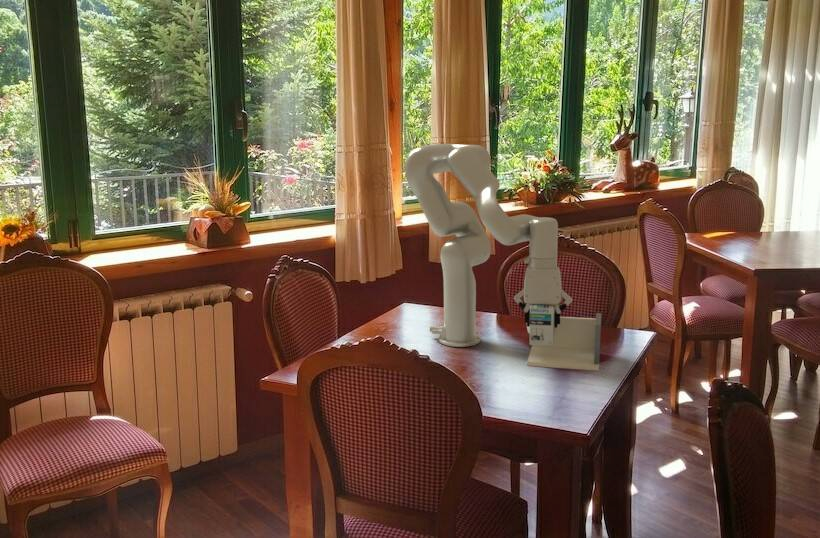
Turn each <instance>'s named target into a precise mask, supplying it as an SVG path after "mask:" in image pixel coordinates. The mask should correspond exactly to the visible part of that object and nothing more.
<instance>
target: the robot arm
mask: <svg viewBox="0 0 820 538" xmlns="http://www.w3.org/2000/svg"><path fill="white" fill-rule="evenodd" d="M491 160H492V159H491V155H490V153H489V151H488V150H487V149H486V148H485V147H483V146H482V145H479V144H461V143H458V144H457V143H439V144H436V143H435V144H427V145H421V146H418V147H416V148H414V149H413V150H411V151H410V153H409V154H408V156H407V157H406V160H405V165H404V174H405V179H406V181H407V184H408V185H409V188H411V191H412V193H413V194H414V195H415V197H416V199H417V201H418V203H419V206H420V208H421V210H422V212H423V214H424V216H425V219H426V220H427V222H428V225H429V226H430V228H431V230H432V232H433V233H434V234H435V235H436V236H438V237H449V236H453V235H455V237H454V238H451V239H449V240H447V241H446V242H445V243H444V244H443V246H442V247H441V250H440V263H441V268H442V277H443V278H442V279H443V325H440V326H438V325H430V326H429V332H430V333H431V334H433V335H438V341H439V343H440V344H442V345H444V346H447V347H455V348H464V347H465V348H466V347H471V346H472V347H473V346H476V345H478V344H480V343H481V339H482V338H481V336H480V335H479V334H477V333H476V324H477V323H476V316H477V314H476V313H477V312H476V311H477V310H476V309H477V305H476V304H477V303H476V302H477V299H476V298H477V290H476V288H477V283H476V278H475V277H476V276H475V274H474V271H473V268H474V267H475V266H478V265H480V264H483V263H485V262H487V260H488V259H489V258H490V255H491V253H492V245H491V242H490V240H489V238H488V235H487V233H486V231H485V229H486V230H487V231H488V232H489V233H490V235H491V236H492V237H493V239H495V240H496V241H497V242H499V244H502V245H504V246H513V245H517V244H520V243H524V242H528V241H529V250H528V251H529V256H528V257H526V258H524V259H523V262H524V264H526V265H527V264H528V266H527V267H526V269H525V274H524V281H523V282H524V283H523V288H522V290H520V291H519V292H518V293H516V294H515V295H514V296H513V301H515V302H516V304H517V305H518V306H519V307H520V309H522V310H523V312H524V323H525V324H526V328H527V327H529V326H530V304H531V305H554V308H555V328H557V326H558V324H560V317H561V313H562V312H563V311H565V309H566V308H567V307H568V306H570V304H571V303H572V302H573V298H572V297H571V296H570V295H569V294H568V293H566V291H564V290H563V289H562V288H563V287H562V276H561V270H560V267H558V240H559V239H558V238H559V236H558V235H559V234H558V233H559V229H558V228H559V223H558V220H557V219H556V218H553V217H546V216H542V217H541V216H534V215H531V214H527V213H526V214H525V213H523V214H522V213H521V214H518V215H517V214H516V215H514V216H509V215H508V214H507V213H506V212H505V211H504V209H503V208H502V206H501V205H500V204H499V202H498V201H499V200H498V199H497V192H498V191H499V189H500V187H501V186H500V185H501V183H500V181H499V179H498V178H497V177H496V176H495V175H494V174H493V172H492V171H491V170H490V169H489V168H490V166H491V164H492V163H491V162H492V161H491ZM441 173H452V174H453V175H454V176H455V178H456V179H457V180H458V181H459V182H460V183H461V185H462V186H463V187H464V188H465V189H466V191H467V192H468V193H469V195H470V196H471V197H472V198H473V200H474V201H475V203H476V209H477V212H478V215H479V217H478V215H477V213H476V211H475V210H474V208H473V207H471V206H470V205H469V204H468V203H466V202H463V201H453V202H452V201H451V200H450V198H449V196H448V194H447V192H446V190H445V188H444V187H443V185H442V184H441V183H440V181H438V180H437V178H435V177H434V174H441ZM482 224H483V225H482ZM483 226H484V227H485V229H484V227H483ZM522 297H523V300H522V299H521V298H522ZM562 298H563V299H564V300H565V301H563V303H562ZM561 303H562V304H561Z"/></svg>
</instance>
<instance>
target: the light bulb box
mask: <svg viewBox="0 0 820 538" xmlns="http://www.w3.org/2000/svg"><path fill="white" fill-rule="evenodd" d="M529 309H530V334H529V342H528V343H529V345H530V346H532V345H545V346H553V345H554V337H555V312H556V310H555V308H554V305H531V304H530V308H529Z"/></svg>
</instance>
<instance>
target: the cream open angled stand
mask: <svg viewBox="0 0 820 538" xmlns="http://www.w3.org/2000/svg"><path fill="white" fill-rule="evenodd" d="M595 325H596V317H595V318H593V317H577V316H576V317H575V316H560V324H558V326H557V328H555V337H554V345H553V346H545V345H531V349H530V353H529V355H528V359H527V366H528V367H541V368H557V369H570V370H581V371H582V370H584V371H585V370H586V371H600V364H599V365H598V364H594V350H595Z"/></svg>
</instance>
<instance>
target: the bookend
mask: <svg viewBox="0 0 820 538" xmlns="http://www.w3.org/2000/svg"><path fill="white" fill-rule="evenodd" d="M595 318H596V325H595V350H594V364H598V365H599V366H600V353H601V333H602V332H601V331H602V329H601V328H602V313H601V312H600V313H599V312H596V314H595Z"/></svg>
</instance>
